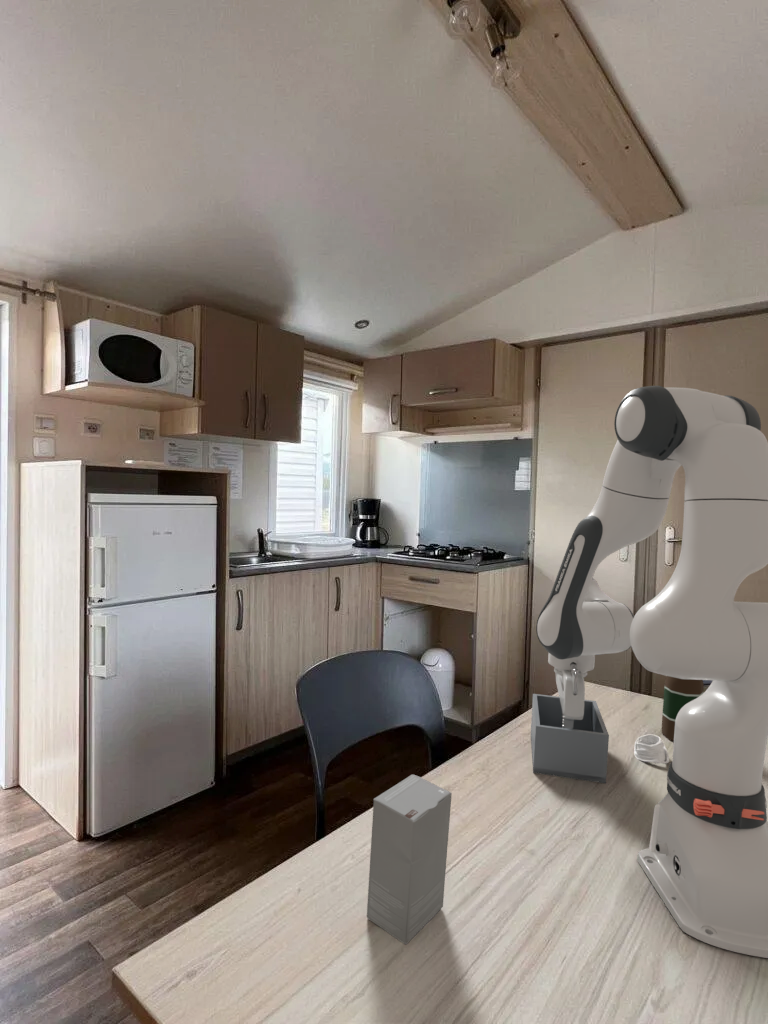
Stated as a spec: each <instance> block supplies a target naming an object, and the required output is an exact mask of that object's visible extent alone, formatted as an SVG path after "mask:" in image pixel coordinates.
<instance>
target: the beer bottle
mask: <svg viewBox="0 0 768 1024" xmlns="http://www.w3.org/2000/svg"><path fill="white" fill-rule="evenodd" d="M663 688H664V689H663V699H662V700H663V701H662V702H663V704H662V718H661V734H662V735H663V736H664V737H665V738H666V739H667V740H669V741H670V742H671V741H672V742H674V731H675V719H676V717H677V714H678V712H679V711H680V709H681V708H682V707H683V706H684V705H685V704H687V703H689V702H690V701H692V700H694V699H696V698H698V697H699V696H701V695H702V694H703V693H704V692H705V691H704V690H705V689H704V688H705V687H704V680H687V679H679V678H674V677H670V676H665V680H664V686H663Z"/></svg>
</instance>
